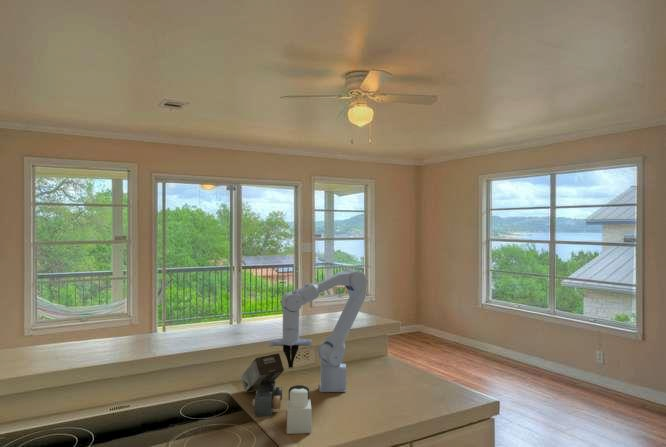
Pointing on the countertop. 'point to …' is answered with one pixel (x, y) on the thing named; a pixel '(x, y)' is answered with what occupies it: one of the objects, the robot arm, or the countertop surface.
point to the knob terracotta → (273, 402)
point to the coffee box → (262, 371)
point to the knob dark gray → (277, 392)
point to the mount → (264, 399)
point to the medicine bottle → (298, 410)
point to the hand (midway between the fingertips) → (290, 366)
